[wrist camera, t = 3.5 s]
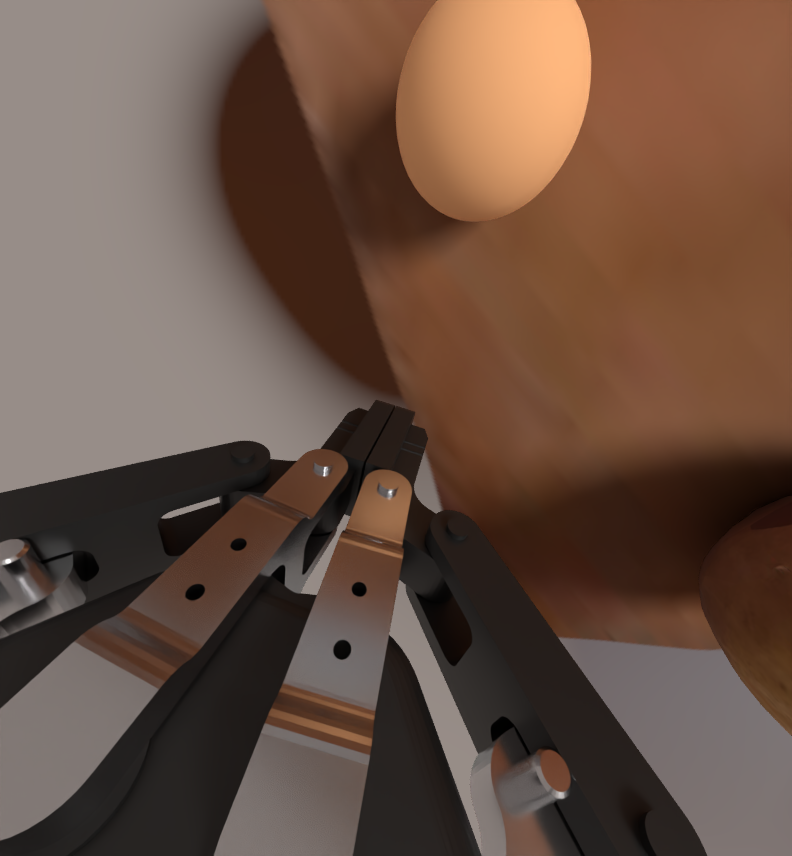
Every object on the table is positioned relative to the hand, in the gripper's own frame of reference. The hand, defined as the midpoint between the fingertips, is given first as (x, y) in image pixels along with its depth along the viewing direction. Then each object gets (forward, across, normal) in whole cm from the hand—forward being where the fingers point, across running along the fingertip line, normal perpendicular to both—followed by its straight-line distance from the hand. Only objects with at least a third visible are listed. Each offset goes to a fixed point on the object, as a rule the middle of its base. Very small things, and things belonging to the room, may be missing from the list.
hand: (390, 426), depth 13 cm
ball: (+5, 0, -10) cm, 11 cm away
